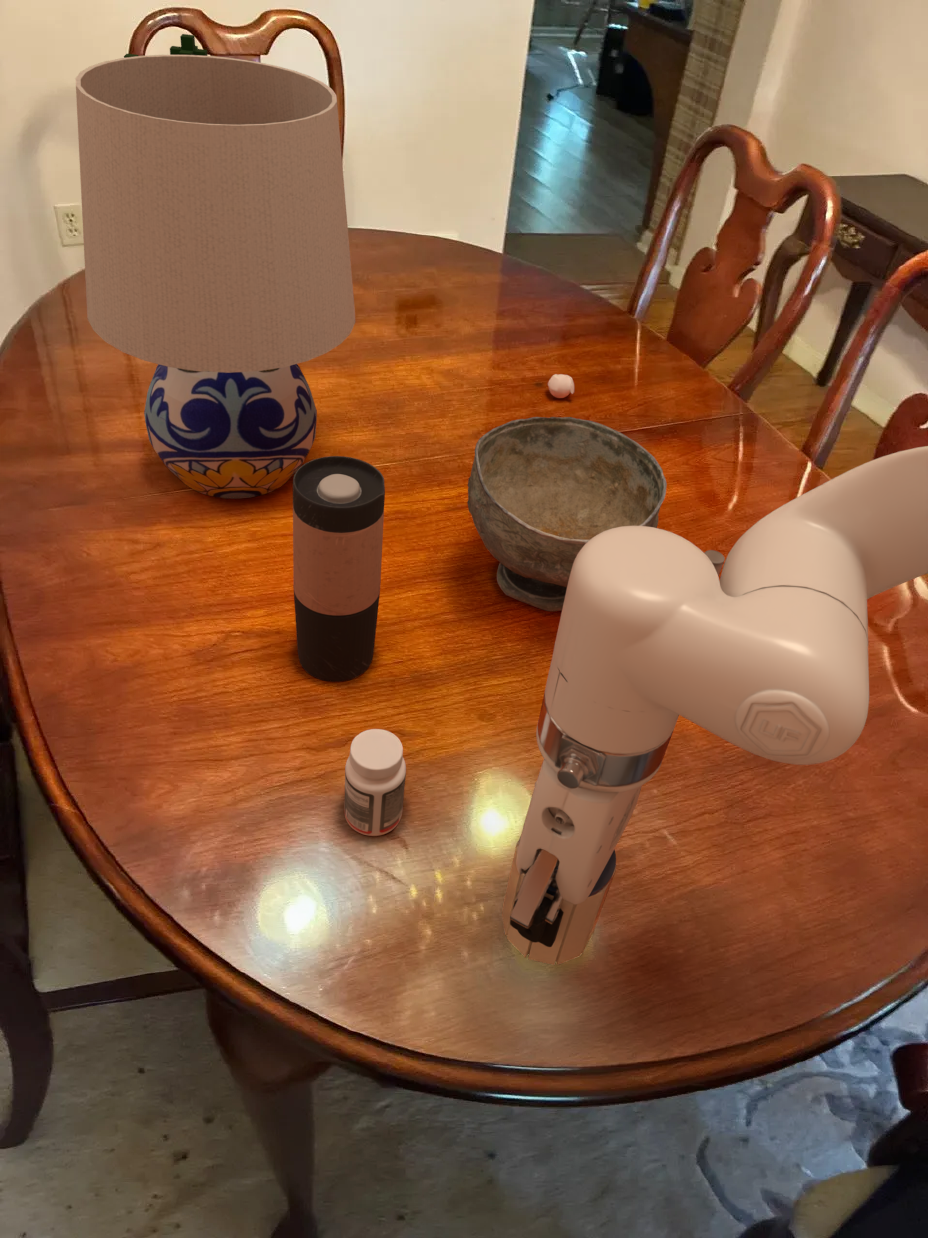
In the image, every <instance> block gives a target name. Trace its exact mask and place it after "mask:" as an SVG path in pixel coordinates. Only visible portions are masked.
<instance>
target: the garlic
mask: <svg viewBox="0 0 928 1238" xmlns="http://www.w3.org/2000/svg"><path fill="white" fill-rule="evenodd" d="M547 386H548V390H549V393H550V394H551V395H552V396H553V397H554V398H556V399H564V398H566V397H568V396H569V394H571V395H574V393H575V382H574V380H573V377H572V376H570V375H568V374H563V373H560V374H557V373H555V374H553V375H552V376H551V377H550V378H549V380H548V382H547Z"/></svg>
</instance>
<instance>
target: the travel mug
mask: <svg viewBox="0 0 928 1238" xmlns="http://www.w3.org/2000/svg"><path fill="white" fill-rule="evenodd" d="M385 496H386V486H385V477H384V474H382V472H381V471H380V470H379V469H378V468H376V467H375V466H374V465H372V464H371V463H369V462H367V461H365V460H363V459H359V458H355V457H351V456H343V455H342V456H341V455H331V456H330V455H329V456H322V457H317V458H315V459H312V460H308V461H307V462H305V463H303V464H301V466H300V467H299V468H298V469H297V471H296V472H295V473H294V474H293V479H292V558H293V559H292V561H293V562H292V563H293V565H292V566H293V567H292V570H293V574H292V575H293V577H292V579H293V580H292V581H293V598H294V599H293V601H294V617H295V634H296V648H297V656H298V657H297V658H298V661H299V664H300V666H301V667H302V669H303V670H304V672H306V674H308V675H310V676H311V677H313V678H315V679H318V680H321V681H324V682H331V683H340V682H342V683H343V682H346V681H351V680H354V679H356V678H359V677H360V676H361V675H362V674H364V673H365V672H366V671H368V669H369V668H370V666H371V665H372V663H373V662H372V661H373V659H374V652H375V645H376V644H375V643H376V633H377V624H378V615H379V614H378V613H379V605H380V595H381V581H382V562H383V561H382V559H383V540H384V522H385V521H384V519H385V498H386V497H385Z"/></svg>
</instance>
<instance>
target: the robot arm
mask: <svg viewBox="0 0 928 1238" xmlns="http://www.w3.org/2000/svg"><path fill="white" fill-rule="evenodd" d="M720 573H721V574H720V577H719V576H718V574H717V572H716V569H715V567H714V565H713V564H712V562H711V561H710V559H709V558H708V557H707V555H706V554H705V551H703V550H702V549H700V548H699V547H698V546H696V545H695V543H693V542H691V541H690V540H688V539H686V538H684V537H683V536H681V535H679V534H676V533H674V532H672V531H669V530H665V529H663V528H659V527H657V528H654V527H647V526H622V527H617V528H612V529H609V530H606V531H604V532H602V533H600V534H598V535H596V536H595V537H593V538H592V539H590V540H589V541H588V542H587V543H586V544H585V545H584V546H583V547H582V549H581V550H580V551H579V553H578V554H577V556H576V558H575V560H574V563H573V566H572V570H571V573H570V576H569V581H568V585H567V590H566V595H565V599H564V604H563V609H562V611H561V613H560V618H559V623H558V627H557V628H558V629H557V632H556V637H555V642H554V646H553V652H552V655H551V656H552V657H551V661H550V665H549V670H548V674H547V679H546V683H545V689H544V693H543V697H542V702H541V707H540V711H539V716H538V720H537V724H536V730H535V736H536V743H537V747H538V750H539V752H540V754H541V756H542V758H543V759H542V764H541V767H540V769H539V772H538V776H537V779H536V781H535V783H534V788H533V791H532V795H531V798H530V800H529V801H530V802H529V804H528V808H527V812H526V816H525V818H524V823H523V826H522V830H521V834H520V836H521V837H520V836H519V839H520V841H519V846H518V851H517V858H516V866H517V870H518V872H519V874H520V875H522V874H523V873H525V876H524V878H523V881H522V883H521V886H520V888H519V891H518V892H517V894H516V899H515V901H514V906H513V911H512V913H511V915H510V919H511V920H510V925H511V926H512V927H513V928H515V929H516V930H518V932H519V934H520V935H521V936H522V937H524V938H526V939H527V940H529V941H531V942H534V943H537V942H540V943H541V944H543V945H545V946H547V947H552V945H553V943H554V942H555V939H556V936H557V933H558V930H559V926H560V923H561V920H562V917H563V913H564V912H563V911H562V909H561V905H562V903H563V901H564V900H566V901H568V902H570V903H573V904H575V905H576V904H580V903H582V902H584V901H585V900H586V899H587V898H588V896H589V895H590V893H591V891H592V889H593V888H594V886H595V884H596V882H597V881H598V879H599V877H600V875H601V873H602V871H603V870H604V868H605V866H606V864H607V862H608V860H609V858H610V857H611V855H612V853H613V851H614V849H615V850H616V847H617V846H618V843H619V842H620V839H621V837H622V836H623V834H624V832H625V830H626V828H627V826H628V824H629V823H630V820H631V818H632V816H633V814H634V812H635V808H636V807H637V804H638V801H639V797H640V794H641V790H642V787H643V786H644V785H645V784H647V783H648V782H649V781H651V780H652V779H653V778H654V777H655V775H657V773H658V772H659V771H660V768H661V766H662V763H663V759H664V757H665V755H666V752H667V751H668V747H669V744H670V743H671V742H670V741H671V738H672V736H673V733H674V730H675V728H676V725H677V722H678V720H679V717H682V718H684V719H686V720H687V721H690V722H691V723H693V724H695V725H697V726H698V727H700V728H703V729H704V730H705V731H707V732H710V733H711V734H713V735H715V736H717V737H718V738H720V739H722V740H724V741H726V742H728V743H729V744H732V745H734V746H736V747H737V748H739V749H742V750H744V751H746V752H748V753H750V754H752V755H754V756H758V757H761V758H764V759H767V760H769V761H773V762H777V763H782V764H789V765H795V766H797V765H798V766H808V765H809V766H810V765H819V764H822V763H826V762H829V761H832V760H834V759H836V758H838V757H840V756H842V755H843V754H845V753H846V752H847V751H848V750H849V749H850V748H851V747H853V746H854V744H856V742H857V741H858V740H859V738H860V737H861V735H862V733H863V731H864V728H865V726H866V722H867V718H868V713H869V705H870V670H869V668H870V667H869V619H868V617H869V616H868V600H869V599H871V598H873V597H875V596H877V595H879V594H882V593H884V592H886V591H888V590H889V591H890V590H891V589H893V588H895V587H897V586H900V585H903V584H905V583H907V582H909V581H913V580H914V579H917V578H920V577H922V576H924V575H927V574H928V445H925V446H919V447H914V448H909V449H905V450H899V451H897V452H894V453H893V452H892V453H890V454H887V455H883V456H880V457H878V458H875V459H872V460H870V461H867V462H865V463H862V464H860V465H858V466H856V467H854V468H851V469H849V470H847V471H845V472H843V473H841V474H839V475H837V476H835V477H833V478H831V479H830V480H827V481H826V482H824V483H822V484H820V485H818V486H816V487H814V488H812V489H811V490H809V491H807V492H805V493H803V494H800V495H799V496H797V497H795V498H793V499H792V500H789V501H788V502H786V503H784V504H783V505H781V506H779V507H777V508H775V509H774V510H773V511H771V512H769V513H768V514H766V515H765V516H763V517H762V518H761V519H759V520H758V521H757V522H755V523H753V525H752V526H751V527H749V528H748V529H747V530H745V532H744V533H742V535H741V536H740V537H739V538H738V539H737V540H736V542H735V543H734V545H733V546H732V547H731V548H730V550H729V552H728V554H727V556H726V558H725V560H724V563H723V566H722V569H721V572H720ZM557 868H558V870H557ZM549 886H551V887H553V888H555V889H557V890H556V893H555V895H554V898H553V900H551V899H549V898H547V897H545V893H546V891H547V889H548V887H549Z"/></svg>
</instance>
